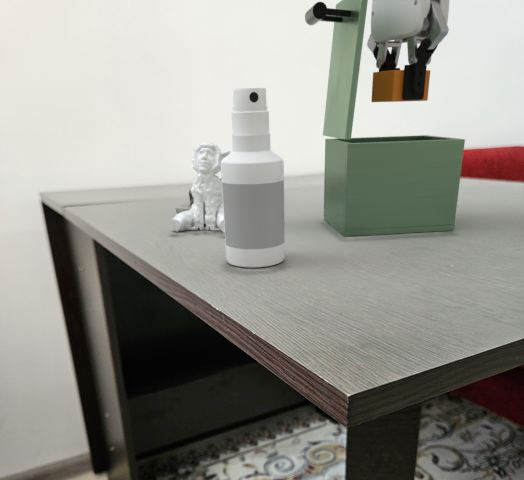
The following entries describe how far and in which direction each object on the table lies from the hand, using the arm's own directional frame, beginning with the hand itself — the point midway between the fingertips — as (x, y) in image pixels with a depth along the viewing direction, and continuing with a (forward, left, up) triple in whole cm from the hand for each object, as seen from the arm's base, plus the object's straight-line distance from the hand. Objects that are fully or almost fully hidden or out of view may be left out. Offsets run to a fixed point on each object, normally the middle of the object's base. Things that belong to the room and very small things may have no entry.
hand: (399, 98), depth 71 cm
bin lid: (+8, 0, +4) cm, 8 cm away
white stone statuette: (+24, -20, -17) cm, 36 cm away
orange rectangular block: (0, 0, 0) cm, 0 cm away
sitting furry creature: (+27, -5, -17) cm, 32 cm away
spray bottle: (+22, +16, -17) cm, 32 cm away
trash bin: (+1, 0, -17) cm, 17 cm away
